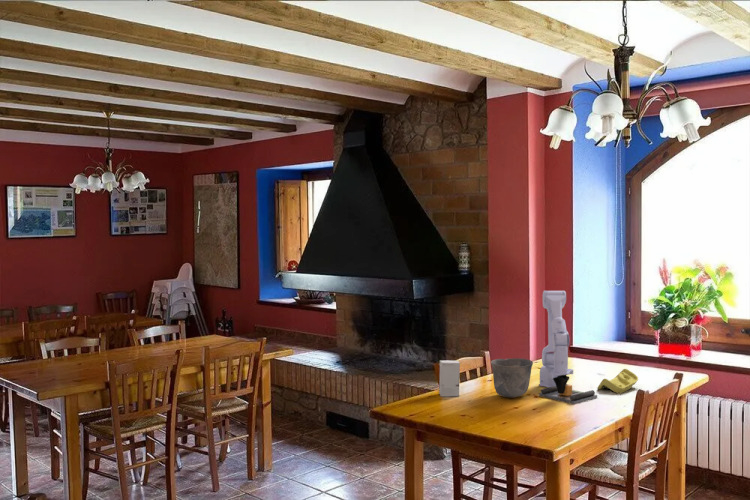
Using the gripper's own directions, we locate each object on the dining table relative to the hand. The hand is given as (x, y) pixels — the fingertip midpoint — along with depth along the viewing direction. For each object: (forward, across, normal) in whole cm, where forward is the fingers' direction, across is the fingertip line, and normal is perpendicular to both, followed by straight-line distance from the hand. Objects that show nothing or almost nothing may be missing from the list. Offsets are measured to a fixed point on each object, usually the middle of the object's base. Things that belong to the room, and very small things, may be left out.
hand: (560, 393), depth 293 cm
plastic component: (+3, +35, -6) cm, 35 cm away
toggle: (+1, +3, 0) cm, 3 cm away
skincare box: (+3, -31, +35) cm, 47 cm away
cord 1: (+1, +4, +8) cm, 9 cm away
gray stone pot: (+3, -12, +16) cm, 20 cm away
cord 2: (+1, +4, -7) cm, 9 cm away
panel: (+2, +5, 0) cm, 5 cm away
